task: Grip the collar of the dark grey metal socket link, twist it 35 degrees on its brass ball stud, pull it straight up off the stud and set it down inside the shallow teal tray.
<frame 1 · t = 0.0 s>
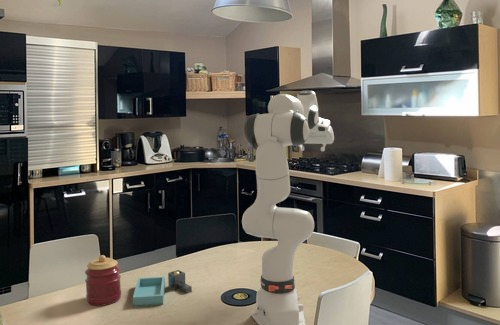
hand: (312, 150, 209), 54 cm above the table, tool tilted 30°, fingers open, 8 cm apart
socket link: (177, 286, 189), on the table
canister: (104, 299, 177), on the table
ball stud: (176, 286, 189), on the table
tray: (150, 295, 181), on the table
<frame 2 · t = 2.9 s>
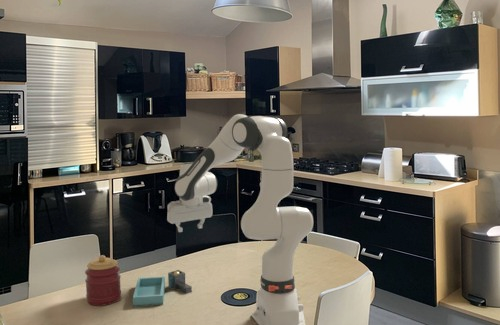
hand: (190, 229, 197), 22 cm above the table, tool pointing down, fingers open, 8 cm apart
nothing on the table moved.
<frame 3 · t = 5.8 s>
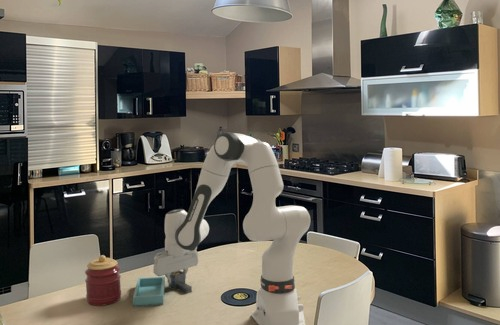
hand: (176, 280, 189), 3 cm above the table, tool pointing down, fingers closed on socket link, 5 cm apart
socket link: (176, 286, 189), on the table, touching gripper
everything else where it was.
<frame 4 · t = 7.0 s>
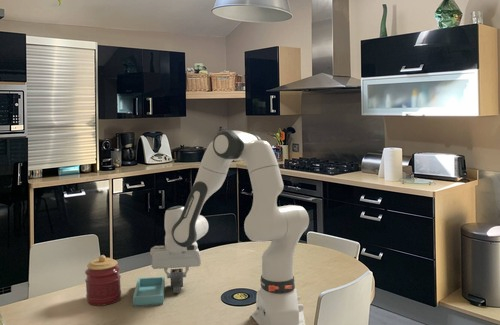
hand: (176, 277, 189), 4 cm above the table, tool pointing down, fingers closed on socket link, 5 cm apart
socket link: (176, 284, 189), point 1 cm above the table, touching gripper
everything else where it was.
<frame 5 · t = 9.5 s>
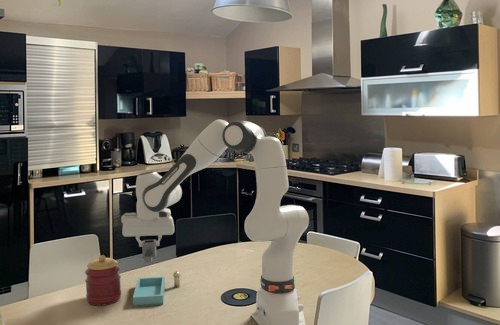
hand: (149, 246, 182), 19 cm above the table, tool pointing down, fingers closed on socket link, 5 cm apart
socket link: (149, 256, 183), point 15 cm above the table, touching gripper
everything else where it was.
when the fingers open (6 cm above the table, at t = 12.4 s): socket link stays where it is, resting on tray.
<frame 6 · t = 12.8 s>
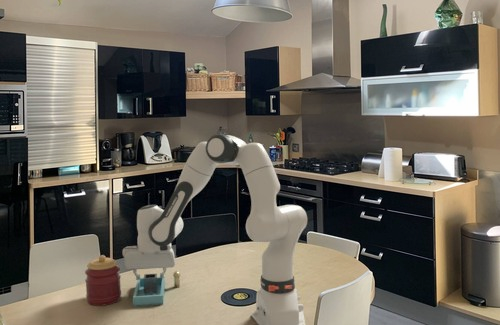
hand: (150, 278, 183), 6 cm above the table, tool pointing down, fingers open, 8 cm apart
socket link: (150, 290, 184), point 1 cm above the table, touching tray
everything else where it was.
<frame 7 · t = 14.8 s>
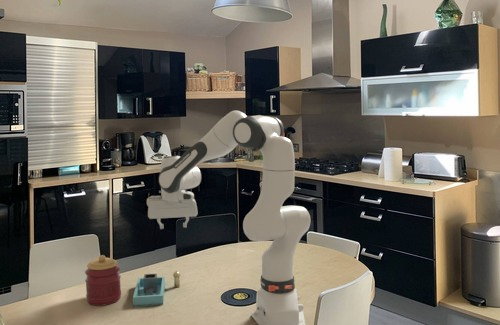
hand: (173, 228, 188), 25 cm above the table, tool pointing down, fingers open, 8 cm apart
nothing on the table moved.
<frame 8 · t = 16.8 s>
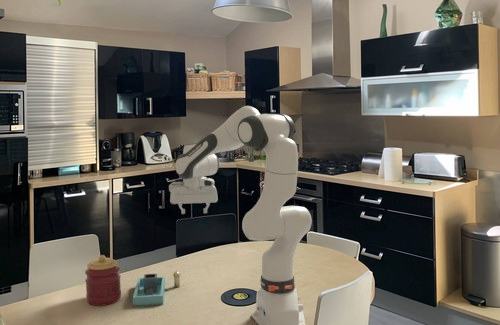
hand: (194, 213, 195), 29 cm above the table, tool pointing down, fingers open, 8 cm apart
nothing on the table moved.
at the end: socket link inside the target area on the tray (0.9 cm from its centre), point 0.6 cm above the tray's base; socket link tilted 0°; the gripper is holding nothing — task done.
